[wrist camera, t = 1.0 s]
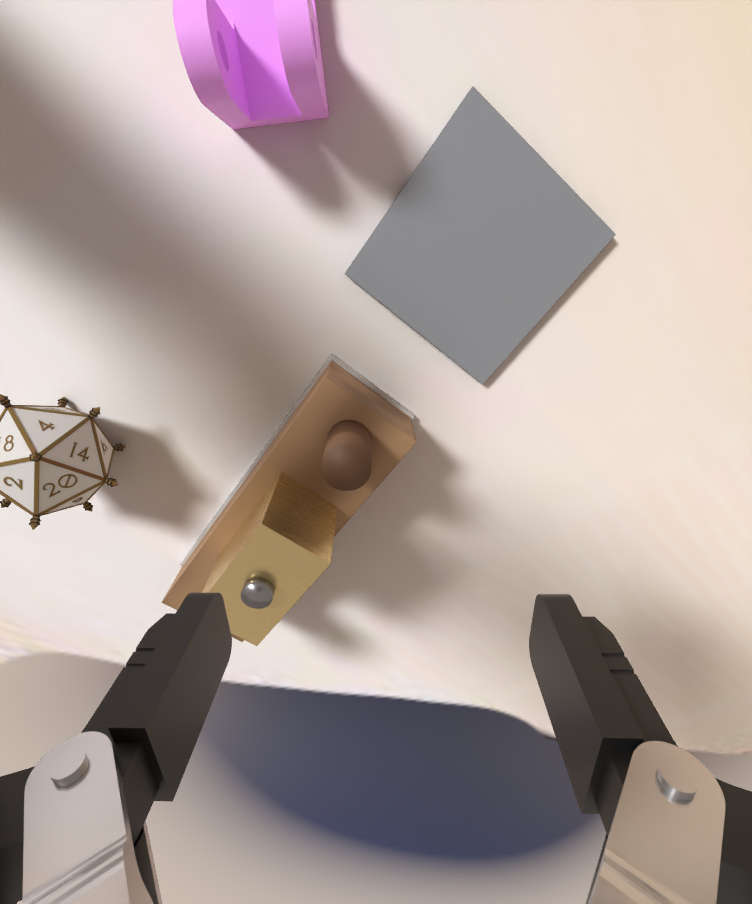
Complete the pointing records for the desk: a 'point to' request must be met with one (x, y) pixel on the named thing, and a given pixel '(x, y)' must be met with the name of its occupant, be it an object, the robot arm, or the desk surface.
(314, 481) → the plane body
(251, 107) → the bracket
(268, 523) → the lever cap
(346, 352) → the desk surface
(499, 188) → the mat
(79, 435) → the game die
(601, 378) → the desk surface
